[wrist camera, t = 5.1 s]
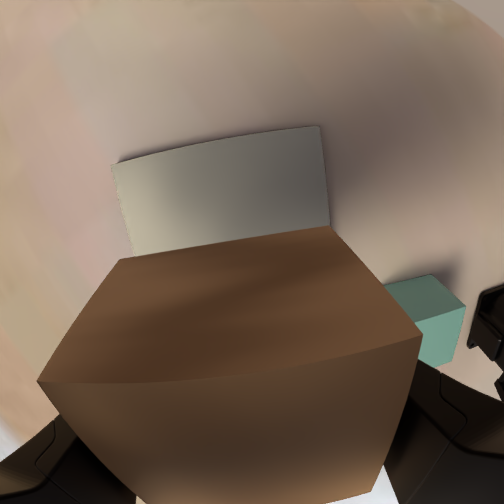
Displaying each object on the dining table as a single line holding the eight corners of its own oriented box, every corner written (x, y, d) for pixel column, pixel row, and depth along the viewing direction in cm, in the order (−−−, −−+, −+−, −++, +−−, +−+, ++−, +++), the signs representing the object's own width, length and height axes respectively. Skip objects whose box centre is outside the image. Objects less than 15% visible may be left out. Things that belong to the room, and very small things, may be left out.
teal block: (430, 273, 21) (466, 306, 17) (423, 325, 23) (451, 360, 18) (375, 286, 21) (405, 325, 17) (372, 339, 23) (395, 380, 18)
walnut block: (328, 225, 8) (423, 334, 4) (331, 378, 11) (370, 491, 6) (119, 259, 8) (36, 380, 4) (175, 399, 11) (160, 514, 6)
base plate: (315, 126, 17) (319, 125, 16) (330, 303, 21) (334, 310, 20) (116, 163, 17) (110, 165, 16) (165, 329, 21) (163, 337, 21)
